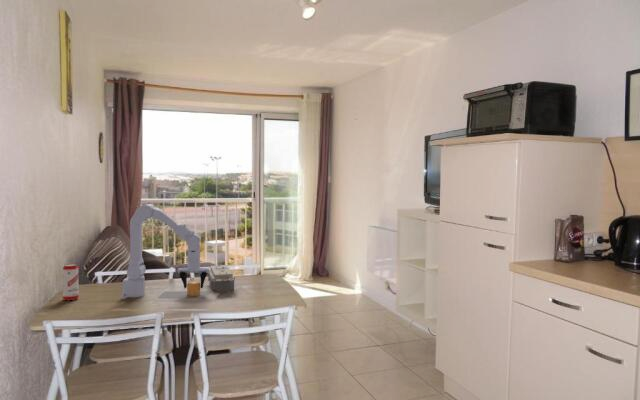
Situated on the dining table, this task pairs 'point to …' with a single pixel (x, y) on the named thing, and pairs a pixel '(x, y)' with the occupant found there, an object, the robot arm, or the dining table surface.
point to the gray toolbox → (221, 278)
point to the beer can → (70, 282)
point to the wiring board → (182, 295)
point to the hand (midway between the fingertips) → (193, 287)
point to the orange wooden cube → (193, 288)
